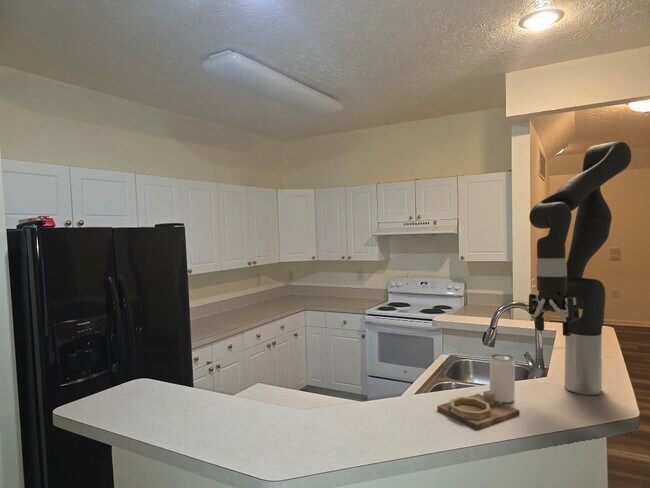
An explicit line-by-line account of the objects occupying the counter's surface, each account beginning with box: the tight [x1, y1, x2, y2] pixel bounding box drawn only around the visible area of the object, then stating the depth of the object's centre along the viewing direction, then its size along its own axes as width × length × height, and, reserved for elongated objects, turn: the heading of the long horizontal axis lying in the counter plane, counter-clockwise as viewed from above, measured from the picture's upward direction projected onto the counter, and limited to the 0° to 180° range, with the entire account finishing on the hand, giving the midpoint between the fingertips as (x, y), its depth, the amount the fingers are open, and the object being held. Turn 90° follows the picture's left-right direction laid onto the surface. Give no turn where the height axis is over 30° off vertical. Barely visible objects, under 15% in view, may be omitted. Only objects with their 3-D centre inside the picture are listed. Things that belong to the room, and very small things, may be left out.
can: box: [489, 353, 516, 404], centre depth 120 cm, size 6×6×12 cm
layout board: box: [436, 390, 520, 431], centre depth 111 cm, size 16×13×4 cm
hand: (553, 333), depth 118 cm, fingers open, 8 cm apart
